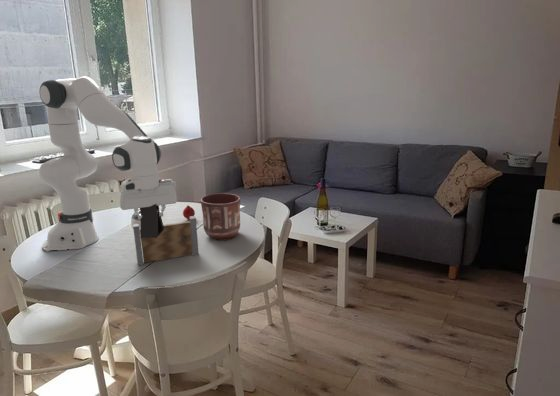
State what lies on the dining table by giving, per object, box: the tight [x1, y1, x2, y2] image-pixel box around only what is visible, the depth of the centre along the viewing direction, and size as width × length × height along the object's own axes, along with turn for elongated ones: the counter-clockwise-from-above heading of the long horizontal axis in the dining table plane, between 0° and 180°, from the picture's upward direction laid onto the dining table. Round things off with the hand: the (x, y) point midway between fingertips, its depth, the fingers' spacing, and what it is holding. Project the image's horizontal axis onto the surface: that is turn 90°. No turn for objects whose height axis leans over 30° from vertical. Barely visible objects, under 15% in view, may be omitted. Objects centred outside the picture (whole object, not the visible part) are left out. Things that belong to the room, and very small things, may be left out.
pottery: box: [200, 192, 241, 241], centre depth 192 cm, size 18×18×18 cm
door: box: [139, 220, 193, 264], centre depth 169 cm, size 19×3×14 cm, turn 112°
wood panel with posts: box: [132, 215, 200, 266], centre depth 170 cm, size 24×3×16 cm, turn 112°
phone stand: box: [139, 204, 164, 239], centre depth 158 cm, size 9×6×12 cm, turn 177°
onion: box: [182, 204, 196, 221], centre depth 215 cm, size 6×6×8 cm
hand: (150, 217), depth 158 cm, fingers closed on phone stand, 6 cm apart
